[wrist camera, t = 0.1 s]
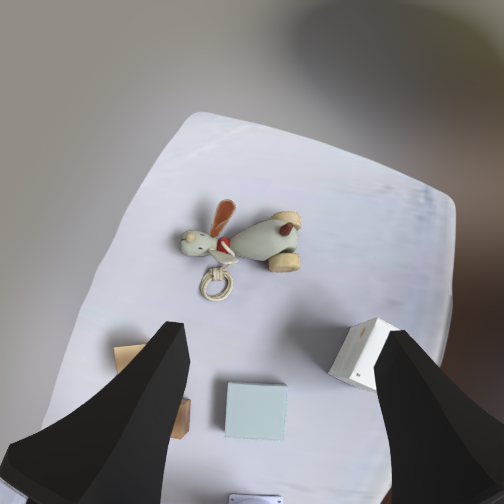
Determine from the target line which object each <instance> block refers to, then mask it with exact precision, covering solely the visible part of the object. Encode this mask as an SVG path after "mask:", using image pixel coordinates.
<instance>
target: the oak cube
mask: <svg viewBox="0 0 504 504" xmlns="http://www.w3.org/2000/svg"><path fill="white" fill-rule="evenodd" d="M145 345H146V344H141V345H133V346H124V347H115V348H114V354H115V361H116V367H117V373H118V374H119V373H120V372H121V371H122V370H123V369H124V368H125V367H126V366H127V365H128V364H129V363H130V361H131V360H132V359H133V358H134V357H135V356H136V355H137V354H138V353H139V352H140V351H141V350H142V348H143V347H144V346H145Z"/></svg>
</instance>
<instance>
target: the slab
mask: <svg viewBox="0 0 504 504" xmlns="http://www.w3.org/2000/svg"><path fill="white" fill-rule="evenodd" d="M287 396H288V386H287V385H286V384H262V383H246V382H233V381H230V382H229V383H228V391H227V406H226V422H225V437H228V438H239V439H254V440H280V441H284V434H285V422H286V410H287Z"/></svg>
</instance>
